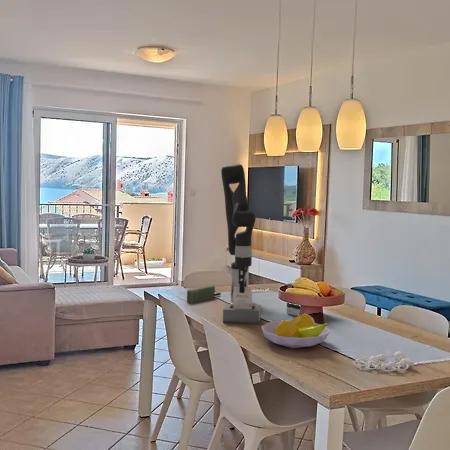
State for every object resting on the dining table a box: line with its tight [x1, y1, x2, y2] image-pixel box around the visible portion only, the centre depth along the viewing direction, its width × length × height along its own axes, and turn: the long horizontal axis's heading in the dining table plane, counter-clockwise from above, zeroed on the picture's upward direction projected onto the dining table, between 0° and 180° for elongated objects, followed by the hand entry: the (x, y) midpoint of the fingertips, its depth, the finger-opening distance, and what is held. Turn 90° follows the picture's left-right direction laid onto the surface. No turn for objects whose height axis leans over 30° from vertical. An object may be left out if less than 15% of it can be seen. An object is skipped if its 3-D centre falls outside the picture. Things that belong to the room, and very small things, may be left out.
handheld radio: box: [186, 284, 222, 304], centre depth 300 cm, size 7×3×25 cm
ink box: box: [232, 286, 253, 309], centre depth 256 cm, size 9×5×15 cm, turn 84°
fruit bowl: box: [261, 313, 331, 349], centre depth 220 cm, size 28×27×11 cm
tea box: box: [285, 281, 318, 317], centre depth 270 cm, size 15×10×15 cm, turn 131°
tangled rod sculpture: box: [352, 350, 415, 373], centre depth 193 cm, size 19×14×4 cm
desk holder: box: [222, 303, 262, 325], centre depth 256 cm, size 12×16×6 cm
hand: (242, 290), depth 255 cm, fingers open, 8 cm apart
